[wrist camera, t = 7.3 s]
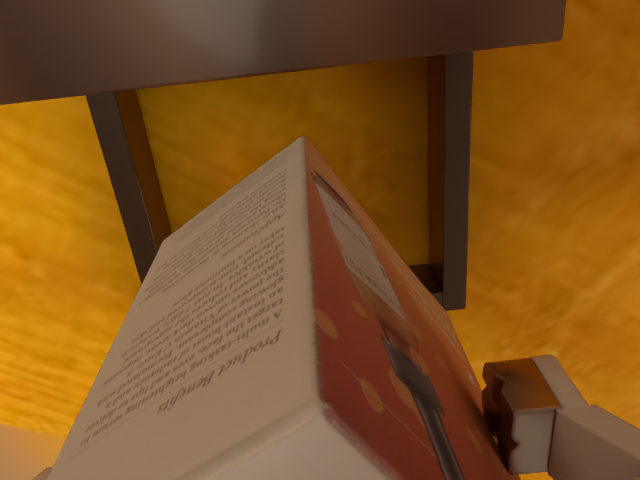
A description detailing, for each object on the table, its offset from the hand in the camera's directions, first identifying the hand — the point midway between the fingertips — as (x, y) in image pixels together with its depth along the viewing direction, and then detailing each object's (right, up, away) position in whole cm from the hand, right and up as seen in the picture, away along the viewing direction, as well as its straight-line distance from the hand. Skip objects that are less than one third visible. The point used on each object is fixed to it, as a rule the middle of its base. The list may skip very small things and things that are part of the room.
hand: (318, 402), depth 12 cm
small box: (0, +3, +5) cm, 6 cm away
